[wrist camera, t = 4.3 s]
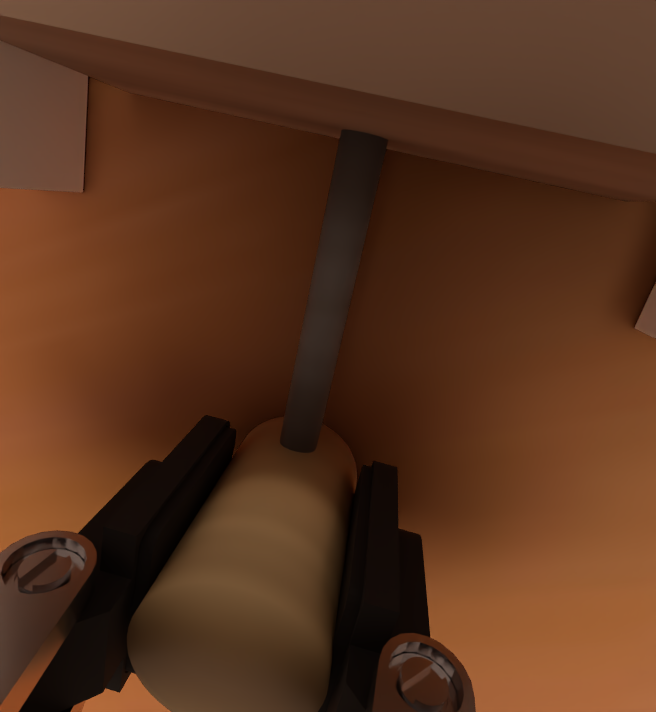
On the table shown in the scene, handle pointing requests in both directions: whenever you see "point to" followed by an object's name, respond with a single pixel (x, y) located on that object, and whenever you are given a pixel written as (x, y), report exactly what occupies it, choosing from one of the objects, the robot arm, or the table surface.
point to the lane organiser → (73, 133)
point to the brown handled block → (341, 255)
